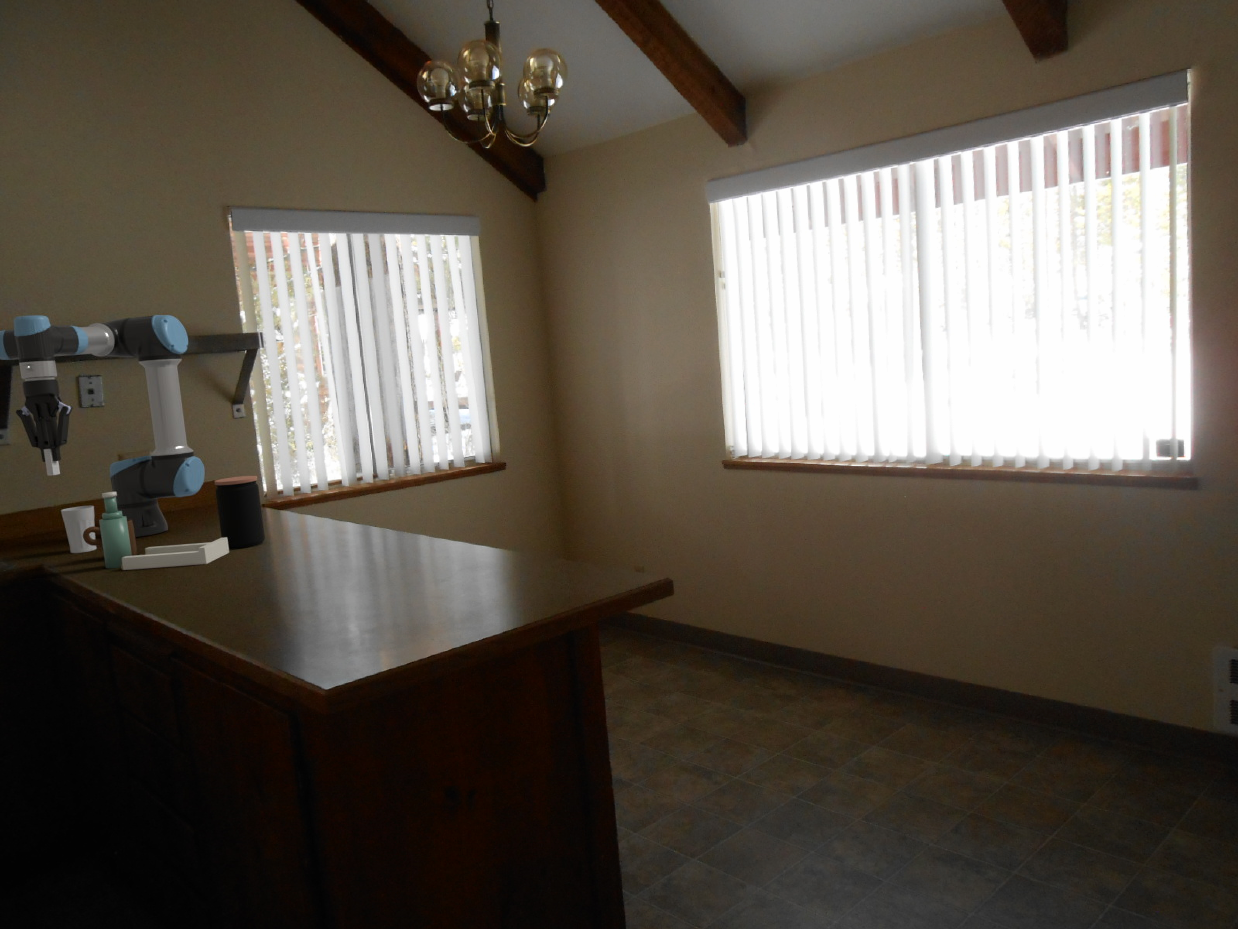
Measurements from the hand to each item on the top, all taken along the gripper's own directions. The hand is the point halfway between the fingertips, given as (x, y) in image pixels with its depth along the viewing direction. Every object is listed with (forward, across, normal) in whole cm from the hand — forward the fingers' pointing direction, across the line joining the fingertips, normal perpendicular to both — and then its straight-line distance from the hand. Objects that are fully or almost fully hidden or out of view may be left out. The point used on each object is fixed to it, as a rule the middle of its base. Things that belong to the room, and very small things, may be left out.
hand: (53, 474), depth 229 cm
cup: (+24, -12, +27) cm, 38 cm away
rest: (+24, +27, 0) cm, 36 cm away
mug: (+24, +5, +11) cm, 27 cm away
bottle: (+24, +13, 0) cm, 27 cm away
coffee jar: (+24, +38, +16) cm, 48 cm away
